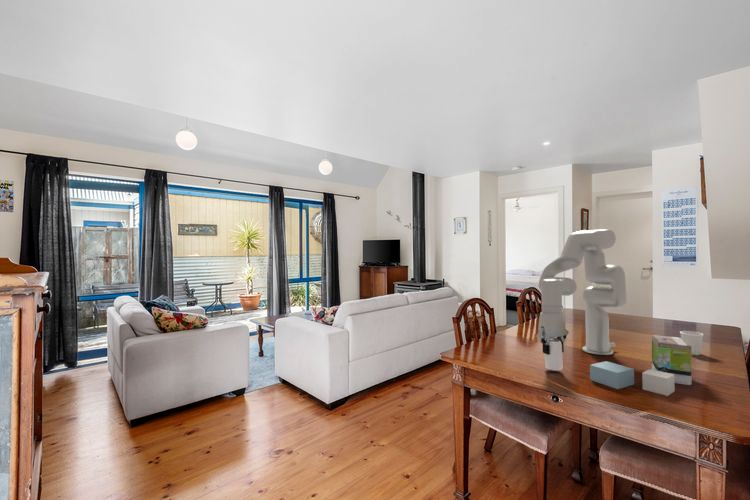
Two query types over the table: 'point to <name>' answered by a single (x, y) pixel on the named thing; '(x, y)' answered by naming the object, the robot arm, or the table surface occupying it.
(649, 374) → the grey block
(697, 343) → the dixie cup
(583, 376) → the table surface
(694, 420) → the table surface
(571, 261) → the robot arm
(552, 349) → the can
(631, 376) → the pedestal block
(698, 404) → the table surface
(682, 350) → the tea box
